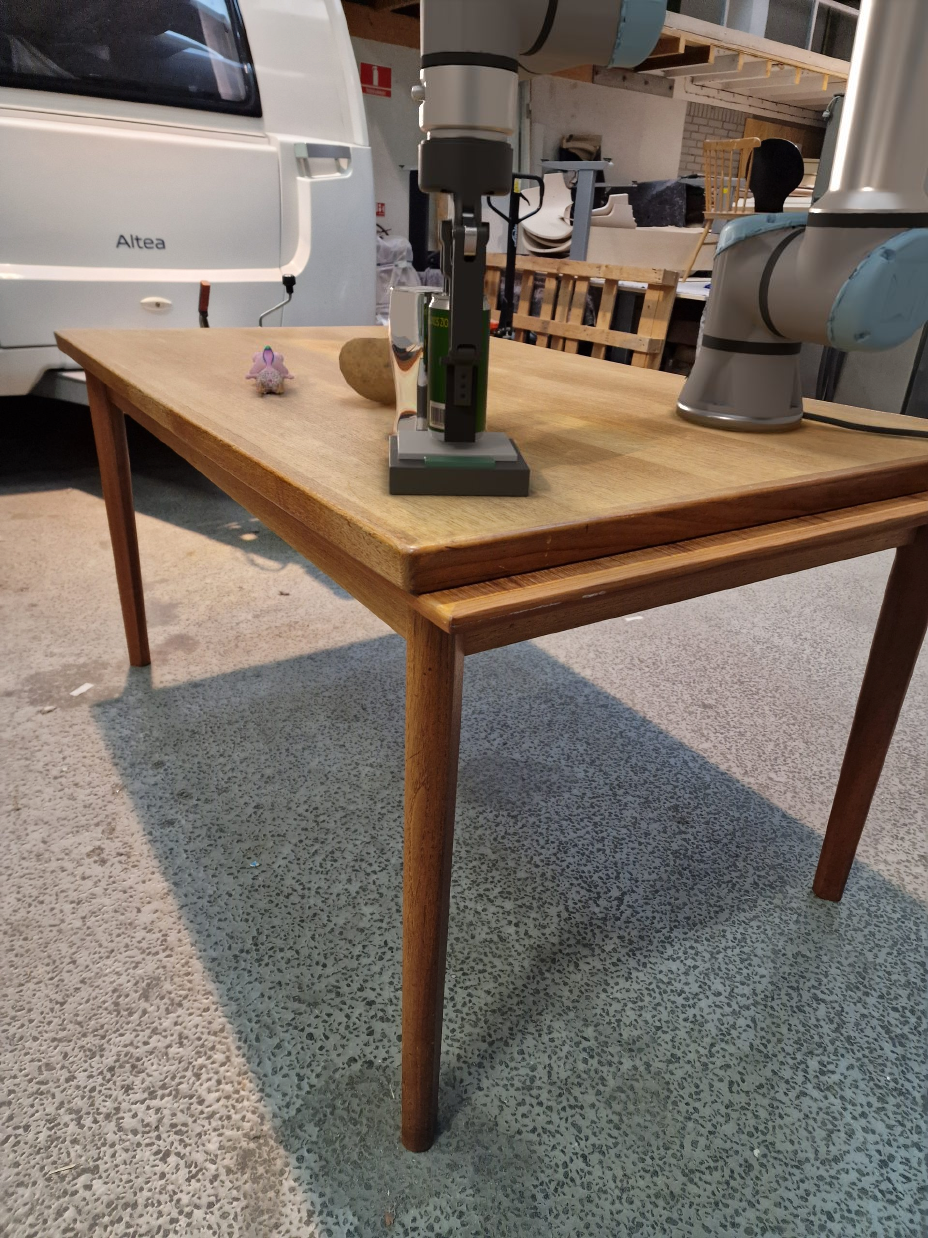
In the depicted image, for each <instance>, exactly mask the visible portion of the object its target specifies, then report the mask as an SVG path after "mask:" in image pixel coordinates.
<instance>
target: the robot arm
mask: <svg viewBox="0 0 928 1238" xmlns="http://www.w3.org/2000/svg"><path fill="white" fill-rule="evenodd" d="M667 6H668V0H419V16H420V19H419V21H420V23H419V24H420V26H419V27H420V29H419V31H420V36H419V37H420V59H419V60H420V61H419V71H420V77H419V80H420V83H421V85H417V84H416V85H413V86H412V89H411V91H410V93H411V94H410V95H411V98H412V99H413V100H414V101H419V102H422V104H421V105H420V106H419V129H420V130H421V131H422V132H423V133H425V134H427V138H426V139H422V140H421V142H420V143H419V144H418V175H417V176H418V177H417V178H418V179H417V181H418V182H417V183H418V189H419V191H421V192H422V193H423V194H429V195H446V196H448V203H447V219H438V231H437V232H438V233H437V236H438V243H439V244H440V255H439V256H440V257H439V258H440V260H439V261H440V262H439V267H440V274H441V275H442V287H443V292H449V353H448V355H447V357H440V365H446V381H445V420H444V442H475V437H476V413H477V390H478V362H480V361H481V359H482V356H483V350H482V324H483V299H484V294H485V276H486V272H487V246H488V243H489V242H490V238H491V237H490V235H491V233H490V232H491V224H490V221H483V203H482V198H483V197H507V196H508V195H509V194H510V193H511V192H512V185H513V168H514V166H513V165H514V152H515V151H514V148H513V147H512V144H511V143H509V142H508V137H512V135H514V134H515V133H516V125H517V109H518V107H517V106H518V90H519V89H518V88H519V83H520V82H523V81H527V80H532V79H534V78H537V77H541V76H544V75H549V74H553V73H557V72H561V71H565V70H569V69H572V68H575V67H579V66H585V65H594V66H599V67H600V66H601V67H603V69H606V70H607V69H608V70H609V69H612V68H634V67H637V66H639V65H640V64H642V63H643V62H644V61H645V60H646V59H648V57H649V56H650V55H651V53H653V50H654V49H655V47H656V46H657V43H658V42H659V39H660V36H661V35H662V31H663V29H664V25H665V22H666V17H667ZM853 38H854V39H853V43H852V50H851V55H850V62H849V67H848V73H847V79H846V85H845V91H844V95H843V102H842V109H841V114H840V119H839V125H838V132H837V136H836V143H835V148H834V154H833V160H832V165H831V171H830V177H829V183H828V189H827V190H826V191H825V193H824V194H823V195H822V196H821V197H820V198H819V199H818V200H816V202H815V203H814V204H812V205H811V206H810V207H809V208H808V211H806V212H804V211H803V212H801V211H800V212H799V211H797V212H796V211H795V212H794V211H793V212H792V211H791V212H776V213H761V214H760V213H759V214H753V215H752V214H751V215H747V216H741V217H737V218H734V219H732V220H730V221H728V222H727V223H726V224H725V225H724V226H723V228H722V229H721V230H720V233H719V238H718V241H717V242H718V243H717V246H716V250H715V253H714V255H713V264H712V272H711V277H710V278H711V279H710V284H709V290H708V298H707V305H706V312H705V319H704V325H703V333H702V339H701V344H700V350H699V353H698V356H697V357H696V361H695V362H694V364H693V365H692V368H691V369H689V370H688V372H687V373H686V375H685V377H684V380H685V383H684V384H683V386H682V389H681V391H680V393H679V394H678V397H677V402H676V407H675V414H676V416H678V417H679V418H680V419H683V420H685V421H687V422H690V423H694V424H697V425H702V426H706V427H711V428H716V429H723V430H731V431H739V432H740V431H741V432H752V433H754V432H755V433H779V432H789V431H793V430H796V429H799V428H800V427H801V426H802V425H801V424H802V420H807V421H813V422H816V423H821V424H827V425H831V426H834V427H838V428H842V429H846V430H853V431H856V432H857V431H858V432H863V433H871V434H878V435H888V436H898V437H911V438H920V439H921V438H922V439H928V430H919V429H908V428H896V427H888V426H887V427H885V426H877V425H869V424H864V423H856V422H852V421H847V420H843V419H839V418H835V417H830V416H827V415H821V414H817V413H811V412H808V411H805V410H804V402H803V401H804V400H803V391H802V390H803V389H802V381H801V373H800V363H799V362H800V355H801V350H802V346H803V343H808V344H814V345H819V346H820V345H821V346H825V347H829V348H834V349H836V350H838V351H841V352H845V353H850V352H851V353H852V352H859V353H868V354H879V353H884V352H887V351H891V350H893V349H895V348H897V347H899V346H901V345H903V344H904V343H906V342H907V341H908V340H910V339H911V338H912V337H913V336H914V335H915V334H916V332H917V331H918V330H919V329H921V328H922V327H923V326H924V325H925V324H926V323H927V322H928V196H927V194H926V193H925V190H924V186H925V181H926V177H927V171H928V0H860V5H859V10H858V15H857V22H856V27H855V33H854V37H853Z"/></svg>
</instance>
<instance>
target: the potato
mask: <svg viewBox="0 0 928 1238" xmlns="http://www.w3.org/2000/svg"><path fill="white" fill-rule="evenodd" d="M338 362H339V365H338V366H339V370H340V373H341V374H342V376H343V378H344V380H345V382H346V384H347V385H348V386H349V387H351V389H352V390H353V391H354V392H355V393H357V394H358V395H359V396H361V397H362V398H364V399H366V400H369V401H372V402H375V403H380V404H385V405H395V406H396V392H395V385H394V378H393V372H392V366H391V360H390V351H389V337H355V338H352V339H350V340H348V341H346V342H345V344H344V345H342V347H341V349H340V351H339V355H338Z"/></svg>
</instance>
